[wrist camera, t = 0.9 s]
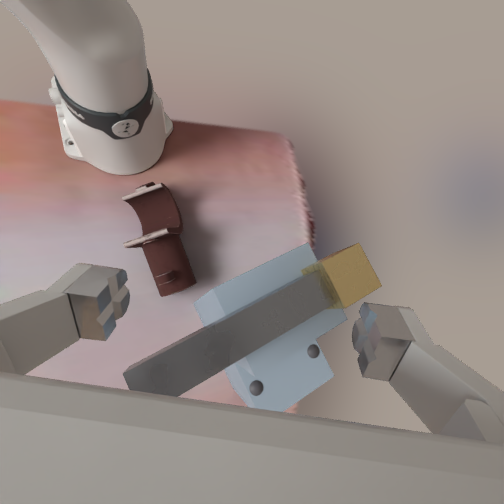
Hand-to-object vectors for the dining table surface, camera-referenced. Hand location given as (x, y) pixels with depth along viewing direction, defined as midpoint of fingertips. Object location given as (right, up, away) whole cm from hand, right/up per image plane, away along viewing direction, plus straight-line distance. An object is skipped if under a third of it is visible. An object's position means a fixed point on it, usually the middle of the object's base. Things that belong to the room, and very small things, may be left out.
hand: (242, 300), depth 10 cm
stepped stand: (-2, -12, +40) cm, 41 cm away
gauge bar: (+1, -4, +14) cm, 15 cm away
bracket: (-16, +3, +40) cm, 43 cm away
